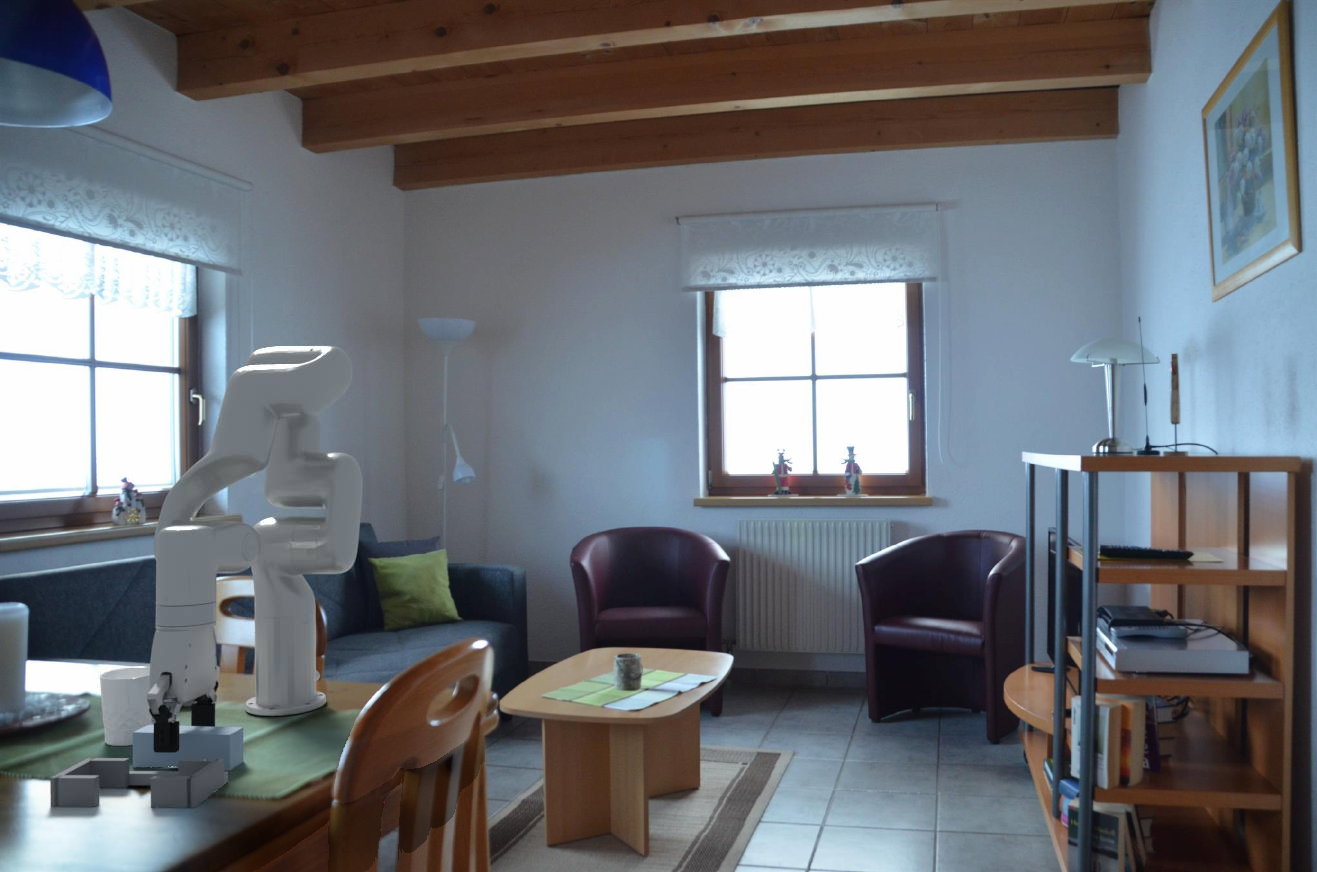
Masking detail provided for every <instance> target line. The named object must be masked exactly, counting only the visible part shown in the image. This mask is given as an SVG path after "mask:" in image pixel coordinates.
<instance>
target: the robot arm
mask: <svg viewBox="0 0 1317 872" xmlns="http://www.w3.org/2000/svg"><path fill="white" fill-rule="evenodd" d="M352 381H353V364H352V360H351V358H350V356H349V355H348V353H347V352H346V351H345V350H344V349H342V348H340V347H338V346H333V345H318V346H317V345H313V346H311V345H309V346H307V345H305V346H303V345H301V346H299V345H297V346H291V345H289V346H284V345H283V346H270V347H265V348H260V349H258V350H255V351H254V352H251V354H250V355H249V356H248V358H247V361H246V366H243V367H240V368H238V369H236V370H235V371H234V372H232V374H231V375H230V377H229V380H228V381H227V384H226V389H225V392H224V396H223V399H222V403H221V407H220V410H219V414H218V417H217V421H216V422H217V423H216V426H215V430H214V433H213V436H212V440H211V441H212V442H211V445H210V448H209V450H208V452H207V453H206V454H205V455H204V456H203V457H202V458H201V459H199V460H198V461H197V462H195V463H194V464H193V465H192V466H191V467H189V469H187V471H186V472H185V473H184V474H183V475H182V476H181V477H180V478H179V479H178V480H177V481H176V482H175V483H174V485H173V486H172V487H171V489H170V490H169V492H168V493H167V495H166V497H165V499H164V502H163V504H162V507H161V510H160V514H159V517H158V521H157V524H156V527H155V532H154V539H153V547H152V548H153V556H154V560H155V562H156V564H155V569H156V571H155V573H156V574H155V629H156V630H155V631H154V635H153V640H152V646H151V652H150V653H151V654H150V664H149V667H150V674H149V693H148V695H147V701H148V704H149V707H150V709H149V712H150V714H151V716H152V719H151V720H152V723H154V748H153V750H154V752H156V753H175V752H177V751H179V726H180V720H177V719H178V716H179V713H180V710H181V708H182V706H181V705H182V704H185V703H188V702H190V701H192V700H194V701H195V702H196V703H192V704H191V706H190V708H191V709H190V716H191V717H190V719H191V720H190V722H191V723H190V724H191V725H190V726H211V727H216V702H217V699H218V695H217V693H216V692H217V690H218V688H219V677H220V674H221V667H220V666H218V665H217V660H218V659H217V644H216V641H217V640H216V631H215V626H217V574H237V573H242V572H244V571H247V570H248V569H250V568H251V574H252V581H253V592H254V593H253V594H254V599H253V600H254V681H255V683H254V692H255V693H254V694H255V696H252V697H251V698H249V699H248V700H246V701H245V703H244V705H245V707H244V708H245V712H247V713H249V714H250V715H255V716H261V717H262V716H264V717H266V716H267V717H269V716H270V717H275V716H276V717H278V716H279V717H280V716H288V715H299V714H302V713H308V712H310V711H314V710H316V709H320V708H321V707H323V706H324V705H325V704H327V703H326V702H327V695H326V694H325V693H324V692H321V691H318V690H317V681H318V680H319V679H320V678H321V674H320V672H319V671H318V670H317V657H316V656H317V652H316V651H317V649H316V648H317V647H316V646H317V645H316V642H317V641H316V640H317V639H316V638H317V636H316V632H317V631H316V618H317V616H316V615H317V614H316V610H317V609H316V607H317V606H316V598H315V593H314V591H313V589H312V588H311V586H310V585H309V583H308V581H307V580H306V578H305V577H304V575H340V574H343V573H346V572H349V570H350V569H352V567H353V566H354V564H355V562H356V559H357V554H358V548H359V541H360V540H359V538H360V529H361V527H360V525H361V514H362V501H363V500H362V499H363V475H362V470H361V467H360V464H359V463H358V461H357V460H356V459H355V457H354V456H352V455H350V454H347V453H345V452H334V451H333V452H322V450H321V449H322V434H323V427H322V423H321V420H320V418H319V416H318V415H320V414H322V413H323V412H325V411H326V410H327V409H328V408H329V407H330V406H332V405H333V404H334V403H335V402H336V401H338V400H339V399H340V398H342V397H343V396H344V395H345V393H346V392H347V391H348V389H349V387H350V385H351V383H352ZM264 470H265V471H264ZM263 471H264V484H263V491H264V493H263V494H264V495H265V499H266V501H267V502H268V503H269V504H270V505H271V506H273V507H276V508H279V509H290V510H297V509H298V510H320V509H321V510H325V515H326V516H307V515H303V516H301V515H300V516H298V515H297V516H295V515H294V516H293V515H290V516H289V515H288V516H286V515H285V516H284V515H282V516H281V515H279V516H272V517H267V518H263V519H262V520H260V521H258V522H257V523H255V525H253V526H252V525H250V524H248V523H245V522H242V521H234V520H230V521H229V520H221V521H220V520H218V521H217V520H195V519H196V516H197V514H198V513H199V511H200V509H201V508H202V506H203V505H204V504H205V503H206V502H207V501H208V500H209V499H210V498H212V497H213V496H215V495H217V494H218V493H219V492H221V491H223V490H224V489H226V488H228V487H229V488H230V486H234V485H235V484H237V483H239V482H243V481H244V480H246V479H248V478H249V479H250V478H251V477H253V476H255V475H257V474H259V473H261V472H263ZM169 707H171V708H170V710H169Z"/></svg>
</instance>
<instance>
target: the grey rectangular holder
mask: <svg viewBox="0 0 1317 872" xmlns="http://www.w3.org/2000/svg"><path fill="white" fill-rule="evenodd" d="M227 782H228V783H229V771H225V770H224V759H181V760H179V761H178V769H177V770H175V771H174V770H173V771H172V770H167V771H166V770H130V758H129V757H128V758H126V757H124V758H123V757H87V758H85V759H83V760H82V761H80V762H78V763H76V764H73V765H72V766H70V767H68V768H66V769H65V770H63V771H61V772H59V773H57V774H56V775H52V777H50V783H49V784H50V789H49V790H50V807H55V808H56V807H59V808H60V807H64V808H65V807H66V808H71V807H72V808H73V807H75V808H78V807H79V808H95V807H96V806H98V805H100V789H108V788H109V789H126V788H127V787H129V786H150V808H173V809H175V808H185V809H186V808H190V809H191V808H197V807H198V806H200V805H201V804H202V803H203V802H205V801H206V800H207V799H209V798H210V797H211V796H212V795H211V794H212V793H213V792H214V791H216V790H218V789H219V788H220V787H222V786H223V785H224V784H226V783H227ZM226 785H227V784H226ZM222 788H223V787H222ZM218 791H219V790H218ZM210 795H211V796H210ZM209 796H210V797H209ZM208 797H209V798H208ZM204 800H205V801H204ZM201 802H202V803H201Z"/></svg>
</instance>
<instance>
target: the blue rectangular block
mask: <svg viewBox="0 0 1317 872" xmlns="http://www.w3.org/2000/svg"><path fill="white" fill-rule="evenodd" d="M153 748H154V725H147V726H145V727H143V728H141V729H138V730H136V731H134V732H133V745H132V768H136V767H142V768H143V767H150V768H149V769H153V768H152V767H156V768H155V769H158V768H157V767H168V766H169V767H171V766H174V767H175V766H176V767H178V761H179V760H181V759H224V771H231V770H233V769H235V768H236V767H237V766H239V765H241V764H243V763H244V727H242V726H215V727H211V726H191V725H179V751H177V752H175V753H156V752H154V750H153ZM234 767H235V768H234ZM142 768H141V769H142ZM143 769H144V768H143Z"/></svg>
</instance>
